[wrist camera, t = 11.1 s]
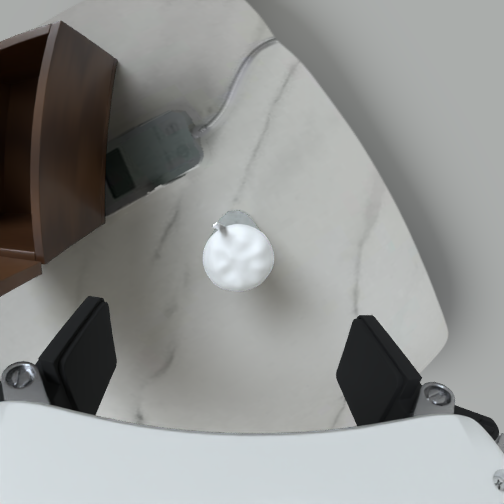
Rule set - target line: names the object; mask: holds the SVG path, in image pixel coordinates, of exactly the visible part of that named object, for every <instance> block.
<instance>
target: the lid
mask: <svg viewBox="0 0 504 504" xmlns="http://www.w3.org/2000/svg"><path fill="white" fill-rule="evenodd" d="M41 274H42V268H41V262H39V261H31V260H23V259H16V258H9V257H1V256H0V297H1V296H2V295H4V294H6V293H8V292H9V291H11V290H13V289H15V288H17V287H18V286H20V285H22V284H24V283H26V282H27V281H29V280H31V279H33V278H35V277H37V276H39V275H41Z"/></svg>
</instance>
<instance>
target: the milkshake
mask: <svg viewBox="0 0 504 504" xmlns="http://www.w3.org/2000/svg"><path fill="white" fill-rule="evenodd" d="M212 227H214V228H215V229H214V231H213V233H212V235H211V236H210V238H209V239H208V241H207V243H206V245H205V247H204V251H203V265H204V268H205V271H206V273H207V275H208V277H209V278H210V280H211V281H212V282H213V283H214V284H215V285H216V286H218V287H219V288H221V289H224V290H228V291H236V292H243V291H247V290H250V289H252V288H255V287H256V286H258V285H260V284H261V283H262V282H263V281H264V280H265V279H266V278H267V277H268V275H269V274H270V272H271V270H272V268H273V265H274V252H273V249H272V246H271V244H270V242H269V240H268V238H267V237H266V236H265V235H264V234H263V233H262V232H261V230H260V229H259V228H258V227H257V225H256V224H255V222H254V221H253V220H252V218H251V217H250V216H249V215H248V214H246V213H244V212H242V211H240V210H236V211H228V212H227V213H226V214H225V215H223V216H222V217H221V218H220V219H219V221H218V223H217V224H214V225H212Z"/></svg>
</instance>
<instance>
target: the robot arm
mask: <svg viewBox="0 0 504 504" xmlns="http://www.w3.org/2000/svg"><path fill="white" fill-rule="evenodd" d="M38 359H39V360H38V361H37V363H36V364H35V365H34V364H32V363H30V362H24V361H22V362H16V363H13V364H11V365H10V366H8V367H7V368H6V369H5V370H4V372H3V374H2V379H1V381H2V384H0V504H504V434H503V433H502V434H501V435H500V436H499V430H498V427H497V425H496V423H495V422H494V421H493V420H492V419H491V418H489V417H486V416H483V415H480V414H478V413H475V412H472V411H469V410H466V409H464V408H461V407H458V406H456V405H455V397H454V395H453V393H452V391H451V390H450V389H449V388H447V387H446V386H445V385H443V384H440V383H436V382H428V383H425V384H424V385H421V384H420V381H421V379H422V377H421V376H420V374H419V373H418V372H417V370H416V369H415V368H414V366H413V365H412V364H411V363H410V361H409V360H408V359H407V357H406V356H405V355H404V354H403V352H402V351H401V350H400V348H399V347H398V346H397V345H396V343H395V342H394V341H393V340H392V338H391V337H390V336H389V334H388V333H387V332H386V331H385V330H384V328H383V327H382V326H381V325H380V323H379V322H378V321H377V320H376V318H375V317H374V316H373V315H359V316H358V317H357V319H354V320H353V322H352V325H351V329H350V332H349V335H348V339H347V342H346V345H345V348H344V351H343V354H342V357H341V360H340V363H339V366H338V369H337V372H336V378H337V381H338V383H339V386H340V388H341V390H342V392H343V395H344V397H345V399H346V401H347V404H348V406H349V408H350V410H351V413H352V415H353V417H354V420H355V422H356V424H357V426H355V427H348V428H340V429H330V430H320V431H307V432H290V433H221V432H204V431H192V430H181V429H172V428H164V427H156V426H149V425H143V424H137V423H131V422H125V421H120V420H115V419H110V418H105V417H100V416H96V412H97V410H98V408H99V405H100V403H101V400H102V398H103V396H104V393H105V391H106V388H107V386H108V384H109V381H110V379H111V377H112V375H113V372H114V370H115V368H116V363H117V359H116V353H115V347H114V341H113V335H112V328H111V321H110V313H109V306H108V303H107V302H104V299H103V298H99V297H92V296H88V297H87V298H86V300H85V301H84V302H83V303H82V304H81V305H80V307H79V308H78V309H77V310H76V311H75V313H74V314H73V315H72V316H71V317H70V319H69V320H68V321H67V322H66V323H65V325H64V326H63V327H62V328H61V330H60V331H59V332H58V333H57V335H56V336H55V337H54V339H53V340H52V341H51V342H50V344H49V345H48V346H47V348H46V349H45V350H44V352H43V353H42V354H41V355H40V357H39V358H38Z"/></svg>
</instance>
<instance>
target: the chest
mask: <svg viewBox="0 0 504 504" xmlns="http://www.w3.org/2000/svg"><path fill="white" fill-rule="evenodd" d="M116 66H117V59H115V58H114V57H113V56H111V55H110V54H109V53H107V52H106V51H104V50H103V49H102V48H100V47H99V46H97V45H96V44H95V43H93V42H92V41H90V40H89V39H88V38H86V37H85V36H83V35H82V34H80V33H79V32H77V31H76V30H74V29H73V28H72V27H70V26H69V25H67V24H66V23H64V22H63V21H58V22H55V23H52V24H48V25H45V26H41V27H38V28H35V29H32V30H29V31H27V32H24V33H21V34H18V35H16V36H13V37H11V38H8V39H6V40H3V41H1V42H0V256H1V257H9V258H16V259H23V260H31V261H39V262H41V264H44V265H45V264H47V263H48V262H49V261H51V260H52V259H53V258H55V257H56V256H58V255H59V254H60V253H62V252H63V251H64V250H66V249H67V248H69V247H70V246H72V245H73V244H74V243H76V242H77V241H79V240H80V239H82V238H83V237H85V236H86V235H88V234H89V233H90V232H92V231H93V230H95V229H96V228H98V227H100V226H101V225H103V224H104V223H105V168H106V149H107V136H108V124H109V115H110V106H111V98H112V91H113V84H114V78H115V72H116Z"/></svg>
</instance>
